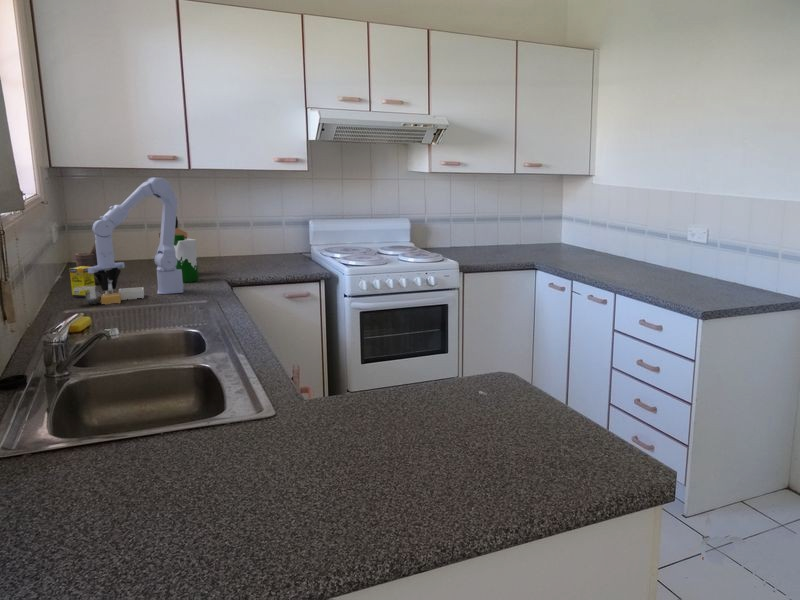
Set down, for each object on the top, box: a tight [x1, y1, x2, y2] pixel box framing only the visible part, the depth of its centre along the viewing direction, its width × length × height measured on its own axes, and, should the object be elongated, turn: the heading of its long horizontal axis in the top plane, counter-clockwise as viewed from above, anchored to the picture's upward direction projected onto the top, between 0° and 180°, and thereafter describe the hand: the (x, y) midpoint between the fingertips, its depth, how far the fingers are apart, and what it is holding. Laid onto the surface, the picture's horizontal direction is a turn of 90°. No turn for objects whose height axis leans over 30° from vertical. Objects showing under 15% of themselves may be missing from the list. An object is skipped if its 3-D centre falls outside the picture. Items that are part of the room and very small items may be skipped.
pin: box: [104, 279, 114, 294], centre depth 226 cm, size 3×3×7 cm
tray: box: [117, 286, 145, 301], centre depth 229 cm, size 8×7×3 cm
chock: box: [100, 292, 122, 305], centre depth 221 cm, size 6×5×3 cm
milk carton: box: [174, 235, 200, 284], centre depth 261 cm, size 9×9×20 cm
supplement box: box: [69, 266, 96, 298], centre depth 232 cm, size 6×6×11 cm
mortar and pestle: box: [74, 242, 100, 285], centre depth 255 cm, size 12×9×20 cm
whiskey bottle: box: [158, 215, 189, 239], centre depth 272 cm, size 10×10×32 cm
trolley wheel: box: [74, 285, 103, 305], centre depth 217 cm, size 8×5×6 cm, turn 111°
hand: (109, 289), depth 226 cm, fingers closed on pin, 3 cm apart
